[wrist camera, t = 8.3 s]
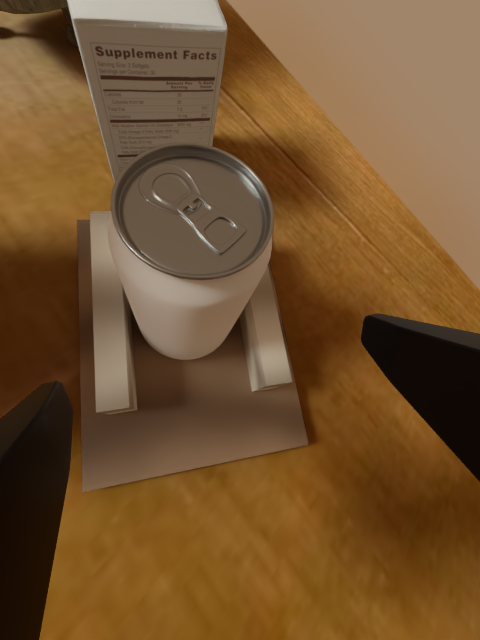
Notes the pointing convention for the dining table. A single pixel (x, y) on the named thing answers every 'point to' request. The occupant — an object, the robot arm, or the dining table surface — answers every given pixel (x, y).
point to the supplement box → (151, 71)
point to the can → (189, 243)
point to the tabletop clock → (41, 11)
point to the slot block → (175, 383)
